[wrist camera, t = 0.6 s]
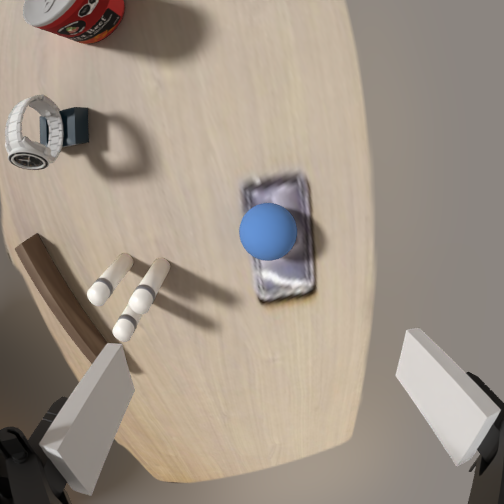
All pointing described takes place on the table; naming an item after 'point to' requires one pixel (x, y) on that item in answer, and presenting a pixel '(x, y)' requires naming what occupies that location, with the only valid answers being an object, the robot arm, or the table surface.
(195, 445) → the table surface
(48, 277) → the back wall
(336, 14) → the table surface
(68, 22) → the canned food
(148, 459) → the table surface
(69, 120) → the watch
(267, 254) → the ball
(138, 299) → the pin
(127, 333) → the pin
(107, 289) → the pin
